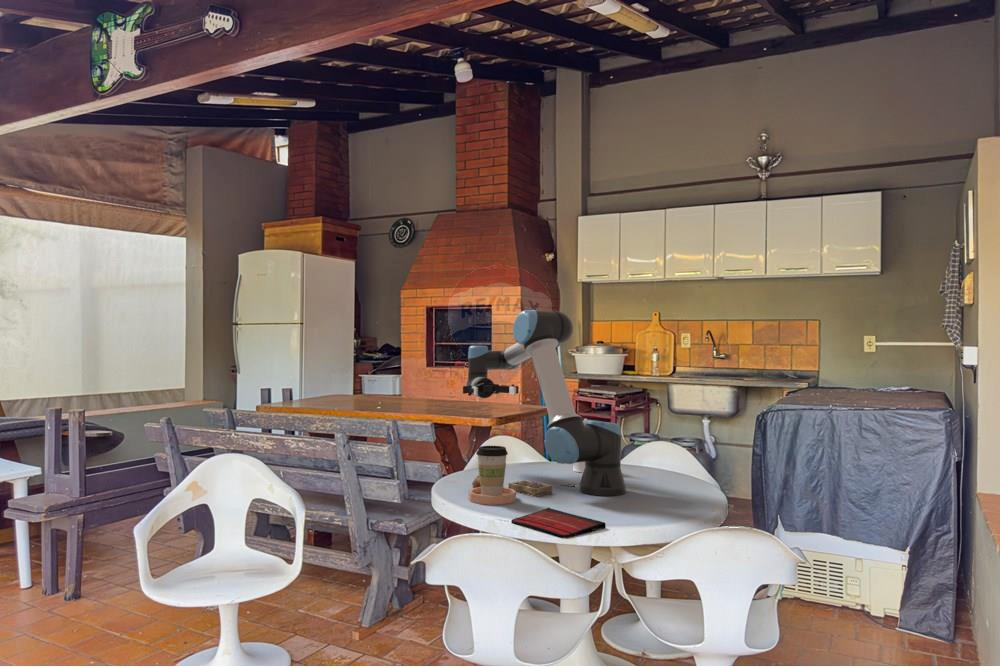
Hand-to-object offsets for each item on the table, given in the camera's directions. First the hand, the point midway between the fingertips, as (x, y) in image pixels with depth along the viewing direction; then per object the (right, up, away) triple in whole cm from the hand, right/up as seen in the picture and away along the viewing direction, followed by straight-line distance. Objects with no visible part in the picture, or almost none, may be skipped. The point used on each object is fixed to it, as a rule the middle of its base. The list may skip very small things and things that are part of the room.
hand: (496, 391), depth 238 cm
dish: (-1, -32, -23) cm, 39 cm away
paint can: (+33, -33, +27) cm, 54 cm away
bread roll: (-3, -32, -10) cm, 34 cm away
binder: (+16, -32, -53) cm, 65 cm away
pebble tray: (+11, -32, -12) cm, 36 cm away
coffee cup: (-1, -31, -23) cm, 39 cm away
